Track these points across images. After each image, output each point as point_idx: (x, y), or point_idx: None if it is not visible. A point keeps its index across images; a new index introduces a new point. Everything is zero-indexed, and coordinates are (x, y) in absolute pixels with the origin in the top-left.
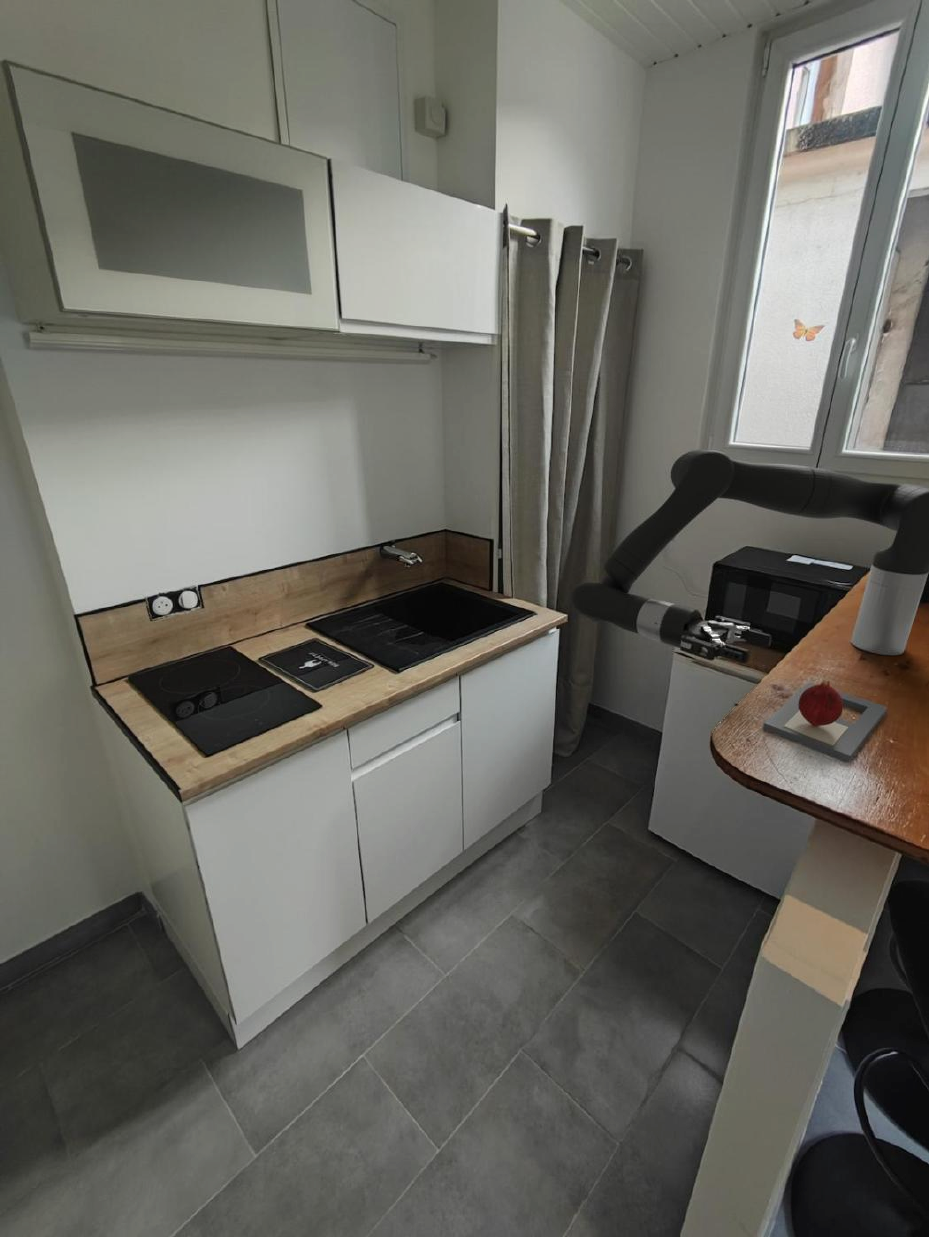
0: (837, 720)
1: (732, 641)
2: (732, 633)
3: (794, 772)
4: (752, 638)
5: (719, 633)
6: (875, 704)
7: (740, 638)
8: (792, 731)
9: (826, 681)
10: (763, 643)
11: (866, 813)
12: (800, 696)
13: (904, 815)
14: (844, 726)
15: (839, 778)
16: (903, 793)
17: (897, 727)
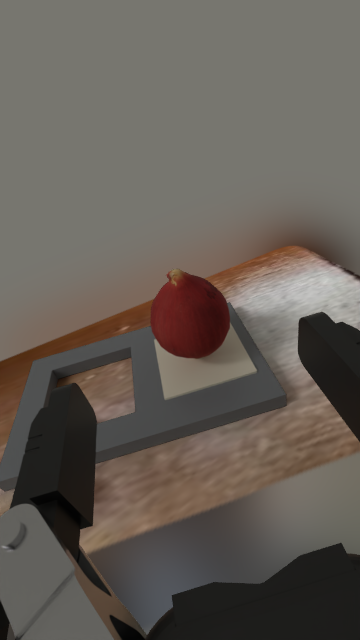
0: (142, 358)
1: (127, 612)
2: (109, 606)
3: (333, 313)
4: (80, 476)
5: (307, 587)
6: (34, 371)
7: (83, 567)
8: (254, 357)
9: (178, 269)
10: (90, 425)
11: (304, 263)
12: (201, 336)
13: (266, 259)
14: (157, 341)
15: (276, 297)
16: (230, 275)
17: (76, 344)
